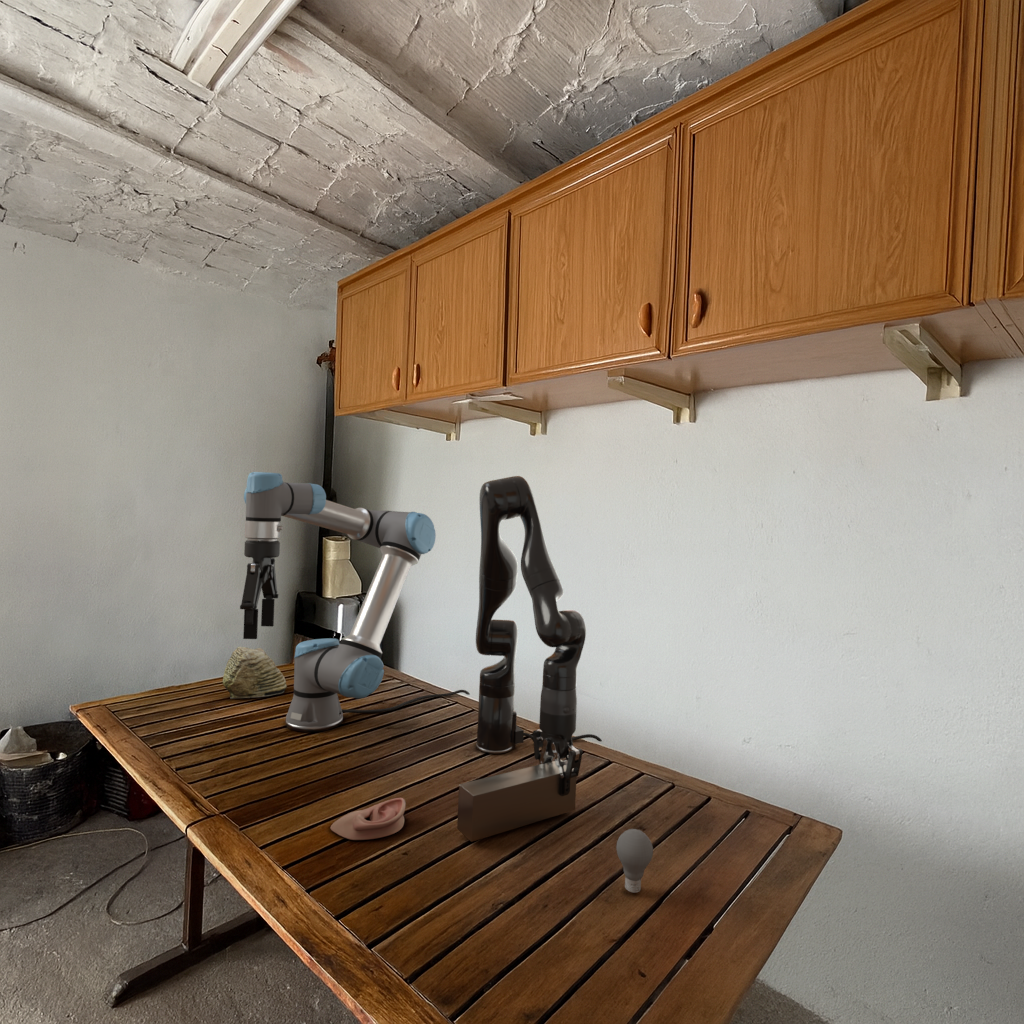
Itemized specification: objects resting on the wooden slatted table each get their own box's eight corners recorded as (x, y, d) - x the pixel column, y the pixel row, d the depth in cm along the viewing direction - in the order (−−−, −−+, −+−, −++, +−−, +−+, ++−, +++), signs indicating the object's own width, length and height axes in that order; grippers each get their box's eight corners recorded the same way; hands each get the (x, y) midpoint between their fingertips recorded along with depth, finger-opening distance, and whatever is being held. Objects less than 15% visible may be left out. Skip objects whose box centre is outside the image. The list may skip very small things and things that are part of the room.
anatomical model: (323, 814, 118) (350, 787, 130) (322, 835, 118) (350, 806, 130) (389, 824, 116) (412, 796, 127) (389, 846, 116) (411, 816, 127)
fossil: (218, 695, 195) (220, 647, 195) (278, 685, 208) (279, 640, 207) (228, 703, 189) (230, 653, 188) (289, 692, 201) (290, 645, 201)
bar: (471, 841, 117) (473, 795, 116) (457, 828, 121) (459, 784, 121) (574, 810, 130) (577, 768, 130) (558, 799, 135) (560, 759, 135)
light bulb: (610, 879, 108) (613, 822, 108) (644, 879, 109) (647, 822, 109) (619, 902, 102) (622, 840, 102) (655, 901, 103) (658, 840, 103)
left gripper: (264, 544, 133) (260, 645, 133) (292, 536, 158) (289, 621, 158) (227, 543, 132) (223, 644, 132) (261, 535, 157) (257, 621, 157)
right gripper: (595, 715, 127) (591, 799, 127) (551, 695, 138) (548, 772, 139) (566, 721, 122) (562, 808, 123) (523, 700, 134) (520, 779, 135)
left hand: (259, 632), depth 145 cm, fingers open, 13 cm apart
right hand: (554, 788), depth 131 cm, fingers closed on bar, 5 cm apart
